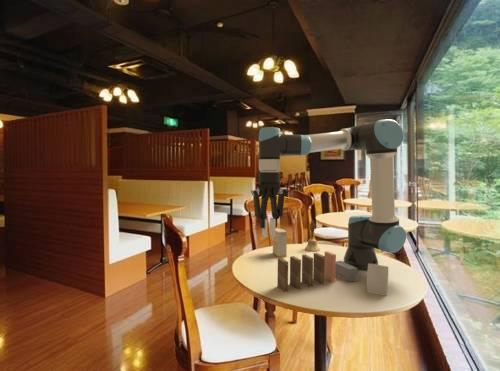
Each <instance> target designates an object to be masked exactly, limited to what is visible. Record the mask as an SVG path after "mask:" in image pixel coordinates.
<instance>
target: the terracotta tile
mask: <svg viewBox="0 0 500 371" xmlns="http://www.w3.org/2000/svg"><path fill="white" fill-rule="evenodd" d="M324 256H325V271H324V280H325V279H326V280H328V281H329V282H330V283H335V282H336V275H335V274H336V261H337V254H336V253H333V252H330V251H327V250H326V251H324Z"/></svg>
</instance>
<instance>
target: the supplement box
mask: <svg viewBox="0 0 500 371" xmlns="http://www.w3.org/2000/svg"><path fill="white" fill-rule="evenodd" d="M287 237H288V231H287V230H284V229H282V228H275V237H272V254H273V255H275V256H276V257H277V258H284V257H285V258H286V257H287V256H288V255H287V251H288V250H287V246H288V245H287V244H288V243H287V242H288V241H287V240H288V238H287Z"/></svg>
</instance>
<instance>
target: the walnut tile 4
mask: <svg viewBox="0 0 500 371" xmlns="http://www.w3.org/2000/svg"><path fill="white" fill-rule="evenodd" d="M324 271H325V255H323V254H321V253H318V252H313V281H314V282H316V283H318V284H319V285H324V284H325V278H324Z"/></svg>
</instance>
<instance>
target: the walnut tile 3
mask: <svg viewBox="0 0 500 371" xmlns="http://www.w3.org/2000/svg"><path fill="white" fill-rule="evenodd" d="M313 260H314V257H312V256H309V255H308V254H302V255H301V283H302V284H305V285H306V286H307V287H309V288H310V287H313V281H314V280H313Z"/></svg>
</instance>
